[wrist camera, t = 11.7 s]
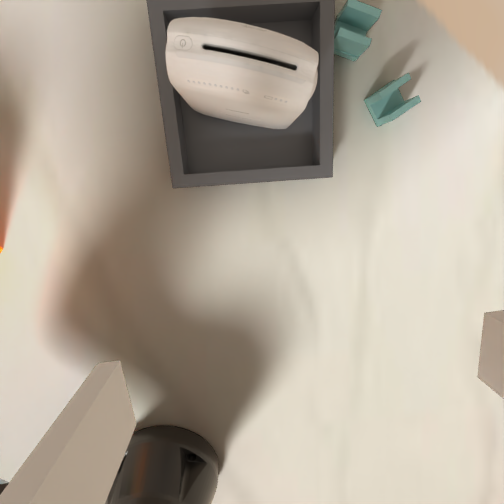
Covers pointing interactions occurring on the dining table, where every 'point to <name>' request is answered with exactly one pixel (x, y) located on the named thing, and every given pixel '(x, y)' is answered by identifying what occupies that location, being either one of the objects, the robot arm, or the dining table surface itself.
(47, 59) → the dining table surface
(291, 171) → the grey square tray
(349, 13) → the clip
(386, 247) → the dining table surface
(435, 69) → the dining table surface
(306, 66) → the photo printer
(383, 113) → the clip
